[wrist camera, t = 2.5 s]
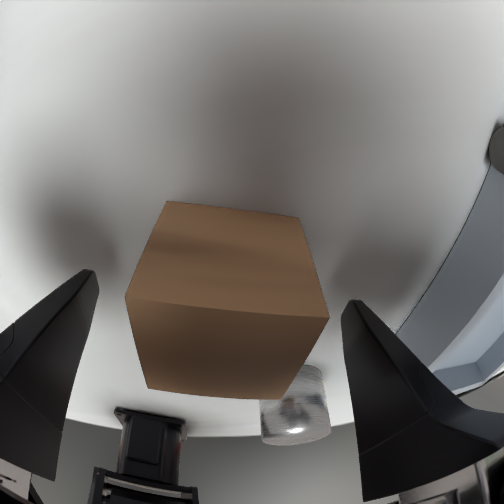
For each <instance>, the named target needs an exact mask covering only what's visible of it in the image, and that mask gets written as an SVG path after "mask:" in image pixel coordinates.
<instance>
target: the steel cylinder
mask: <svg viewBox="0 0 504 504" xmlns="http://www.w3.org/2000/svg"><path fill="white" fill-rule="evenodd" d="M259 401H260V420H261V438H262V442H264V443H266V444H271V445H296V444H303V443H308V442H312V441H315V440H318V439H321V438H323V437H325V436H327V435H329V434H330V433H331V431H332V430H331V424H330V419H329V413H328V407H327V402H326V397H325V391H324V386H323V381H322V376H321V372H320V371H319V369H317V368H315V367H313V366H309V365H302V367H301V369H300V370H299V372H298V374H297V375H296V377H295V378H294V380H293V382H292V383H291V385H290V386H289V388H288V389H287V391H286V393H285V394H284V396H283V397H282V399H281V400H260V399H259Z"/></svg>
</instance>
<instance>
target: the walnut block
mask: <svg viewBox="0 0 504 504" xmlns="http://www.w3.org/2000/svg"><path fill="white" fill-rule="evenodd" d="M125 300H126V305H127V310H128V315H129V320H130V324H131V328H132V333H133V337H134V341H135V345H136V349H137V352H138V356H139V360H140V364H141V367H142V371H143V374H144V377H145V381H146V384H147V387H148V388H149V389H155V390H161V391H168V392H175V393H182V394H190V395H199V396H209V397H221V398H236V399H260V400H281V399H282V397H283V396H284V394H285V393H286V391H287V389H288V388H289V386H290V385H291V383H292V382H293V380H294V378H295V377H296V375H297V374H298V372H299V370H300V369H301V367H302V365H303V364H304V362H305V360H306V359H307V357H308V355H309V354H310V352H311V350H312V348H313V347H314V345H315V343H316V341H317V340H318V338H319V336H320V334H321V333H322V331H323V329H324V327H325V325H326V324H327V322H328V320H329V318H330V317H329V313H328V310H327V306H326V303H325V299H324V296H323V292H322V289H321V286H320V282H319V279H318V276H317V273H316V269H315V266H314V263H313V260H312V257H311V253H310V250H309V247H308V244H307V241H306V238H305V235H304V232H303V229H302V226H301V223H300V220H299V218H296V217H289V216H283V215H276V214H269V213H261V212H254V211H247V210H239V209H231V208H223V207H215V206H207V205H198V204H189V203H180V202H171V201H167V202H166V204H165V206H164V208H163V210H162V212H161V214H160V216H159V218H158V220H157V222H156V224H155V227H154V229H153V231H152V233H151V235H150V237H149V240H148V242H147V244H146V246H145V249H144V251H143V253H142V255H141V258H140V260H139V263H138V265H137V267H136V270H135V272H134V275H133V277H132V279H131V282H130V284H129V287H128V289H127V292H126V295H125Z"/></svg>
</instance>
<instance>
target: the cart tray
mask: <svg viewBox="0 0 504 504" xmlns="http://www.w3.org/2000/svg"><path fill="white" fill-rule="evenodd" d="M489 156H490V160H491V162H492V163H491V166H490V169H489V171H488V174H487V176H486V179H485V181H484V184H483V186H482V189H481V191H480V193H479V196H478V198H477V200H476V202H475V205H474V207H473V209H472V211H471V213H470V215H469V217H468V219H467V221H466V223H465V225H464V227H463V229H462V231H461V233H460V235H459V237H458V239H457V241H456V243H455V245H454V246H453V248H452V250H451V252H450V254H449V255H448V257H447V259H446V261H445V262H444V264H443V266H442V267H441V269H440V271H439V272H438V274H437V276H436V277H435V279H434V280H433V282H432V283H431V285H430V287H429V288H428V290H427V291H426V293H425V294H424V296H423V297H422V299H421V300H420V302H419V303H418V305H417V306H416V307H415V309H414V310H413V312H412V313H411V314H410V316H409V317H408V319H407V320H406V321H405V323H404V324H403V325H402V327H401V328H400V329H399V331H398V332H397V333H396V336H397V337H398V338H399V339H400V340H401V341H402V342H403V343H404V344H405V345H406V346H407V347H408V348H409V349H410V350H411V351H412V352H413V353H414V354H415V355H416V356H417V357H418V359H419V360H420V361H421V363H423V364H424V365H425V366H426V367H427V368H428V369H429V370H430V371H431V372H432V373H433V374H434V375H435V376H436V377H437V378H438V379H439V380H440V381H441V382H442V383H443V384H444V385H445V386H446V387H447V388H448V389H449V390H451V391H452V392H453V393H454V394H458V393H461V392H464V391H467V390H470V389H473V388H476V387H479V386H482V385H483V384H484V383H485V382H487V381H488V380H489V379H490V378H491V377H492V376H493V375H494V374H495V373H496V372H497V371H498V370H500V369H501V368H502V367H503V366H504V126H502V127H500V128H498V129H497V130H496V131H495V132H494V134H493V136H492V138H491V140H490V145H489Z"/></svg>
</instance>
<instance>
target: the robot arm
mask: <svg viewBox="0 0 504 504" xmlns="http://www.w3.org/2000/svg"><path fill="white" fill-rule="evenodd" d="M98 295H99V286H98V282H97V278H96V274H95V272H94V271H93V270H88V269H83V270H82V271H80V272H79V273H77V274H76V275H75V276H73V277H72V278H70V279H69V280H68V281H66V282H65V283H64V284H62V285H61V286H59V287H58V288H57V289H55V290H54V291H53V292H51V293H50V294H49V295H48V296H46V297H45V298H44V299H42V300H41V301H40V302H38V303H37V304H36V305H35V306H33V307H32V308H31V309H30V310H28V311H27V312H26V313H25V314H23V315H22V316H21V317H20V318H19V319H17V320H16V321H15V323H12V324H11V325H10V326H9V327H8V328H6V329H5V330H4V331H3V332H2V333H0V504H43V502H42V500H41V499H40V497H39V496H38V494H37V492H36V490H35V489H34V487H33V485H32V483H31V476H32V473H33V474H35V475H38V476H40V477H43V478H46V479H48V480H51V481H55V477H56V469H57V460H58V455H59V448H60V443H61V437H62V431H63V426H64V421H65V416H66V412H67V408H68V403H69V399H70V395H71V391H72V387H73V384H74V380H75V376H76V373H77V369H78V366H79V363H80V359H81V356H82V353H83V350H84V347H85V343H86V340H87V337H88V334H89V331H90V327H91V323H92V319H93V314H94V310H95V306H96V302H97V299H98ZM341 328H342V340H343V352H344V360H345V365H346V371H347V377H348V382H349V388H350V394H351V401H352V407H353V414H354V421H355V428H356V436H357V444H358V452H359V463H360V472H361V483H362V495H363V502H367V501H371V500H376V499H380V498H384V497H387V496H391V495H394V494H398V499H399V500H397V501H394V502H391V503H388V504H504V414H503V413H497V412H490V411H484V410H478V409H474V408H471V407H469V406H468V405H466V404H465V403H463V402H462V401H461V400H460V399H459V398H458V397H457V396H456V395H455V394H454V393H453V392H452V391H451V390H449V389H448V388H447V387H446V386H445V385H444V384H443V383H442V382H441V381H440V380H439V379H438V378H437V377H436V376H435V375H434V374H433V373H432V372H431V371H430V370H429V369H428V368H427V367H426V366H425V365H424V364H423V363H421V361H420V360H419V359H418V357H417V356H416V355H415V354H414V353H413V352H412V351H411V350H410V349H409V348H408V347H407V346H406V345H405V344H404V343H403V342H402V341H401V340H400V339H399V338H398V337H397V336H396V335H395V334H394V333H393V332H392V331H391V330H390V328H389V327H388V326H387V325H386V324H385V323H384V322H383V321H382V320H381V319H380V318H379V317H378V316H377V315H376V314H375V313H374V312H373V311H372V310H371V309H370V308H369V307H368V306H367V305H366V304H365V303H364V302H362V301H361V300H355V299H352V300H350V301H349V302H348V304H347V306H346V307H345V309H344V311H343V313H342V315H341ZM114 414H115V416H116V417H117V418H118V420H119V421H120V422H121V424H122V425H123V430H122V436H121V442H120V448H119V455H118V462H117V470H116V473H115V472H112V471H108V470H106V469H104V468H101V467H100V468H97V467H94V473H93V480H92V485H91V490H90V494H89V499H88V504H199V501H198V489H197V487H184V486H178V481H179V480H178V479H179V464H180V448H181V441H187V434H186V425H185V421H182V420H177V419H169V418H163V417H157V416H151V415H145V414H140V413H135V412H130V411H126V410H121V409H115V410H114ZM108 479H111V480H115V481H118V482H122V483H125V484H130V485H134V486H138V487H143V488H148V489H153V490H158V491H165V492H170V493H177V494H181V498H176V497H169V496H163V495H157V494H152V493H146V492H141V491H137V490H133V489H128V488H124V487H120V486H117V485H113V484H109V483H108ZM106 492H109V493H111V495H107V496H106Z"/></svg>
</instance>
